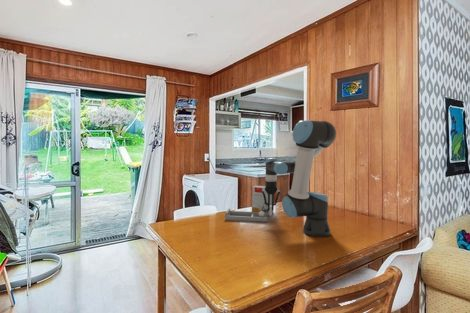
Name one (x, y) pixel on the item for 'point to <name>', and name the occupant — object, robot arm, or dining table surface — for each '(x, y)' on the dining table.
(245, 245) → the dining table surface
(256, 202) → the hard drive box
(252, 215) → the lane
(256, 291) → the dining table surface
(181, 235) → the dining table surface
